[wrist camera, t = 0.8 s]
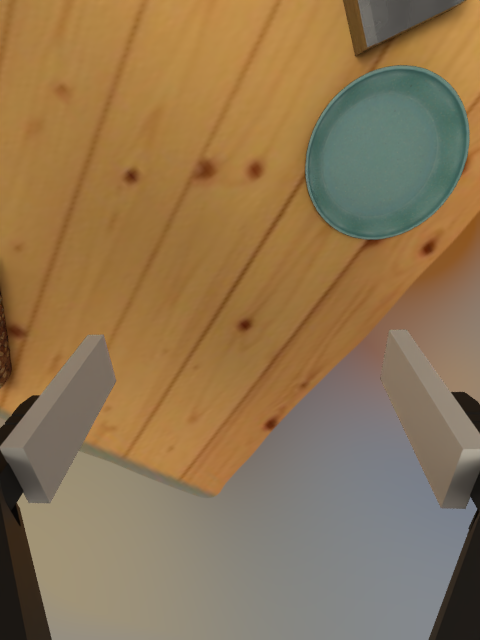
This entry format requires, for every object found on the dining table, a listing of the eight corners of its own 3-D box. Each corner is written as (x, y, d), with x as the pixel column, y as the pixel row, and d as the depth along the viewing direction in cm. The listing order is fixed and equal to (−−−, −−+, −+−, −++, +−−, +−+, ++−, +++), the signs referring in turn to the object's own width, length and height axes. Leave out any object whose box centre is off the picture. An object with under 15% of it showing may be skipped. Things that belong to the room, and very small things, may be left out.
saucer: (381, 257, 40) (388, 266, 38) (273, 183, 37) (274, 187, 35) (490, 132, 34) (507, 133, 32) (371, 29, 31) (380, 22, 28)
